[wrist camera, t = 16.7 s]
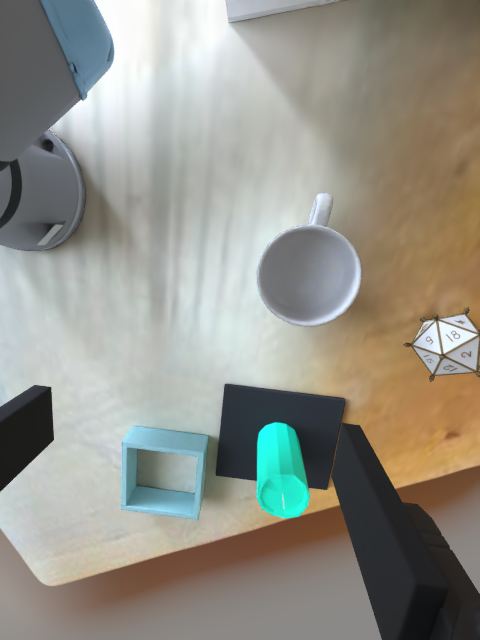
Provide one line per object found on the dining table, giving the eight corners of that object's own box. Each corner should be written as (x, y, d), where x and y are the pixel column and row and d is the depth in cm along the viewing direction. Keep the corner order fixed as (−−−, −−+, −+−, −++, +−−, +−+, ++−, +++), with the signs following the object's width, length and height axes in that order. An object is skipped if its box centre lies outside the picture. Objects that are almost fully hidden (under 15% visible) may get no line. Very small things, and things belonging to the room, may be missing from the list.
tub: (131, 489, 50) (120, 509, 46) (132, 425, 47) (121, 441, 43) (202, 498, 50) (198, 520, 46) (208, 435, 47) (204, 452, 43)
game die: (419, 314, 44) (484, 282, 35) (458, 365, 43) (537, 346, 34) (376, 343, 41) (436, 316, 32) (417, 400, 40) (492, 389, 30)
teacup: (320, 323, 42) (335, 342, 34) (245, 294, 41) (242, 306, 34) (368, 221, 38) (396, 216, 31) (286, 188, 38) (293, 174, 30)
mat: (216, 471, 48) (215, 475, 48) (225, 383, 45) (224, 386, 44) (326, 486, 48) (327, 490, 47) (344, 398, 44) (345, 400, 43)
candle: (306, 444, 45) (323, 514, 34) (273, 465, 46) (278, 539, 35) (282, 414, 44) (290, 475, 33) (248, 436, 46) (245, 502, 34)
